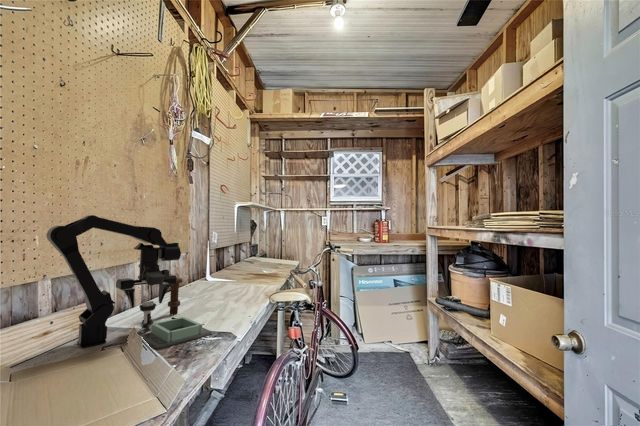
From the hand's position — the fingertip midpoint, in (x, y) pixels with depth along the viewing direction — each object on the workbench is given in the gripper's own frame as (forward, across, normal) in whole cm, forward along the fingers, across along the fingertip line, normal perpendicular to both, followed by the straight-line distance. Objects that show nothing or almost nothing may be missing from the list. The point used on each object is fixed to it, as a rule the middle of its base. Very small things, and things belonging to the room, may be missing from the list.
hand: (146, 305), depth 109 cm
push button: (+9, 0, 0) cm, 9 cm away
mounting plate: (+9, +5, -13) cm, 17 cm away
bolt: (+9, +16, +14) cm, 23 cm away
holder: (+9, +5, -13) cm, 17 cm away
